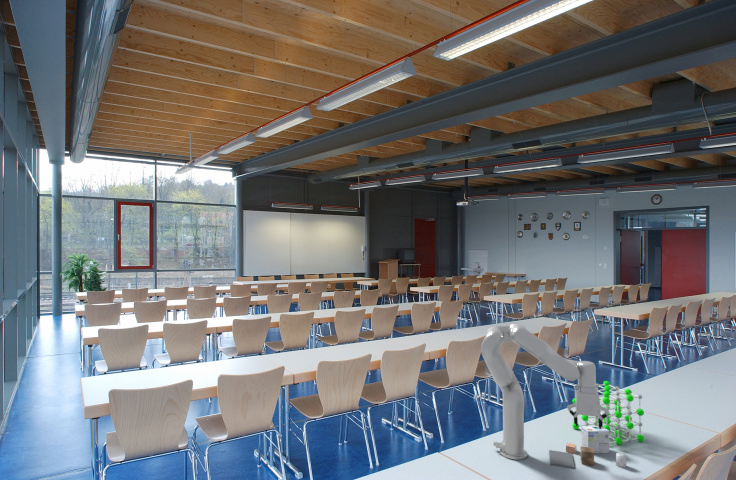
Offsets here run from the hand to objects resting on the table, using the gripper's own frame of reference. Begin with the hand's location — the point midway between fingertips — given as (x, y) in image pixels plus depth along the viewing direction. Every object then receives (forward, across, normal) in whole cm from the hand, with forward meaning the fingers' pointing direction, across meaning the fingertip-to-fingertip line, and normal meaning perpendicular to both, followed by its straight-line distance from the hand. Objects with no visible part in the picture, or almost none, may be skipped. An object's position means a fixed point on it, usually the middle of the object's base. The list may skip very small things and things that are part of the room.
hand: (588, 426), depth 203 cm
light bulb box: (+17, +4, +15) cm, 23 cm away
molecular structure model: (+17, +12, +37) cm, 42 cm away
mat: (+16, -12, -2) cm, 20 cm away
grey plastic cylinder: (+17, +13, +2) cm, 21 cm away
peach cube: (+16, -7, +10) cm, 20 cm away
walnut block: (+16, -1, 0) cm, 16 cm away
